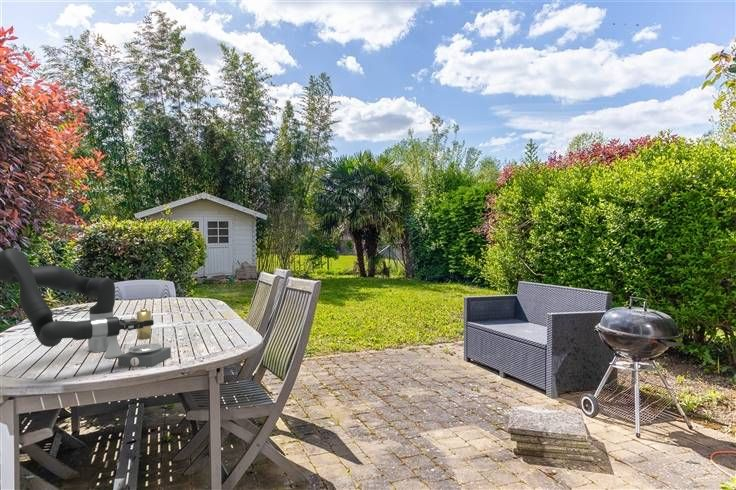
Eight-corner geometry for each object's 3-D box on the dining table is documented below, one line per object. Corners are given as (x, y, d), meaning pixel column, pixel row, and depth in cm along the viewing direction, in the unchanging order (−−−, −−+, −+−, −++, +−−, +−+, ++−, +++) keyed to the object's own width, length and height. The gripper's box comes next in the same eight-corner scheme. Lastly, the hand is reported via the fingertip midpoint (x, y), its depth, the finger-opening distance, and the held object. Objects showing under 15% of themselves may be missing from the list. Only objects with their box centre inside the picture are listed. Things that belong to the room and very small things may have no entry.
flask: (109, 359, 180) (108, 336, 180) (100, 357, 184) (100, 334, 184) (126, 355, 186) (126, 332, 186) (118, 353, 190) (117, 331, 190)
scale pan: (121, 353, 170) (121, 351, 170) (139, 346, 182) (139, 343, 182) (151, 353, 170) (150, 350, 170) (167, 345, 182) (167, 343, 182)
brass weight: (134, 339, 173) (134, 310, 173) (142, 337, 178) (141, 308, 178) (146, 339, 173) (146, 310, 173) (153, 337, 178) (153, 308, 178)
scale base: (117, 367, 169) (117, 355, 169) (139, 356, 184) (139, 346, 183) (151, 366, 168) (151, 355, 168) (170, 356, 183) (170, 346, 183)
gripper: (108, 320, 161) (156, 314, 172) (99, 315, 171) (145, 310, 183) (109, 340, 161) (157, 333, 172) (99, 334, 171) (145, 328, 183)
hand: (150, 321), depth 177 cm, fingers closed on brass weight, 5 cm apart
